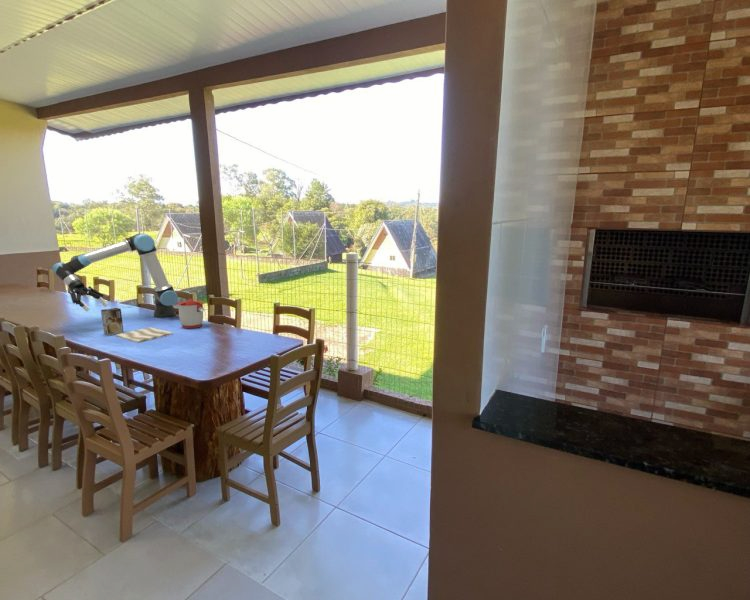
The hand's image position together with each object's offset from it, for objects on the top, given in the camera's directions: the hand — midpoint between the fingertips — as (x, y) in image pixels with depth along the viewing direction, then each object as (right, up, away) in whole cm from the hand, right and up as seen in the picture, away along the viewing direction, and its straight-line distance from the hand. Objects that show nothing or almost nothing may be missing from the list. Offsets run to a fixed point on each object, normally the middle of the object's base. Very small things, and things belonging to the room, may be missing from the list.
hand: (97, 307), depth 240 cm
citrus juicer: (+50, -14, +23) cm, 57 cm away
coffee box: (+9, -17, +2) cm, 19 cm away
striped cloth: (+30, -18, -1) cm, 35 cm away
